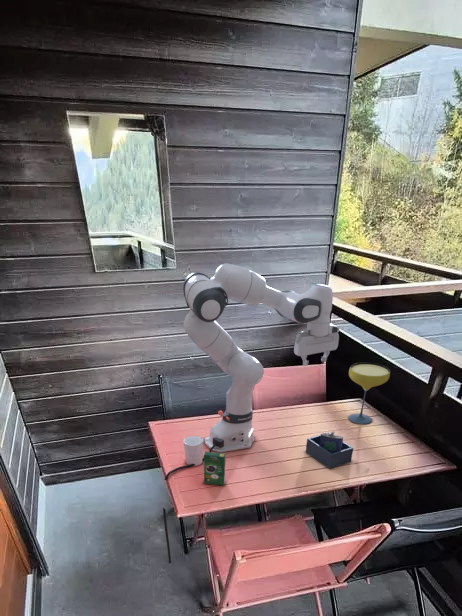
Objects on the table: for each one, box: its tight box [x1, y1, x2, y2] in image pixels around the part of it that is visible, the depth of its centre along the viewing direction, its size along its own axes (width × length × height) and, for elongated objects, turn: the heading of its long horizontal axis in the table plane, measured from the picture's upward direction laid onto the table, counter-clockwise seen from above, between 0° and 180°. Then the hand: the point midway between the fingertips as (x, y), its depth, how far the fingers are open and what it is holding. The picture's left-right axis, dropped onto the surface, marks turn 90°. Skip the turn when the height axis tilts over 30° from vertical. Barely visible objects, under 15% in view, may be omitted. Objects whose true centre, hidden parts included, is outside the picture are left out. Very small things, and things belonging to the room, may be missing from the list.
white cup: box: [182, 435, 204, 467], centre depth 179 cm, size 8×8×10 cm
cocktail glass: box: [348, 362, 391, 425], centre depth 208 cm, size 18×18×25 cm
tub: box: [305, 432, 354, 470], centre depth 184 cm, size 12×16×6 cm
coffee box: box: [203, 451, 227, 487], centre depth 166 cm, size 8×3×13 cm, turn 80°
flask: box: [320, 431, 344, 454], centre depth 182 cm, size 9×3×11 cm, turn 70°
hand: (314, 363), depth 184 cm, fingers open, 8 cm apart
